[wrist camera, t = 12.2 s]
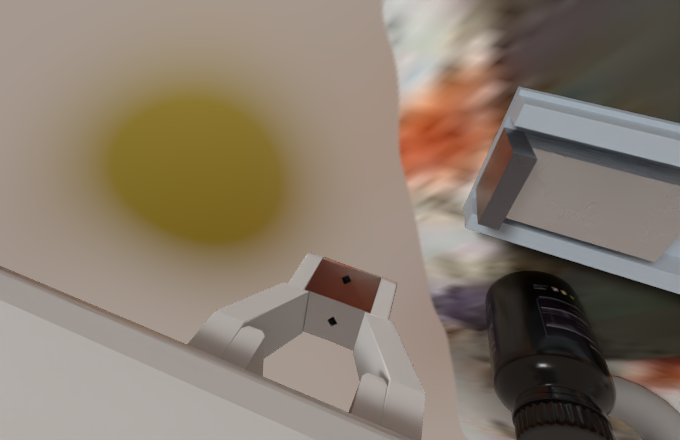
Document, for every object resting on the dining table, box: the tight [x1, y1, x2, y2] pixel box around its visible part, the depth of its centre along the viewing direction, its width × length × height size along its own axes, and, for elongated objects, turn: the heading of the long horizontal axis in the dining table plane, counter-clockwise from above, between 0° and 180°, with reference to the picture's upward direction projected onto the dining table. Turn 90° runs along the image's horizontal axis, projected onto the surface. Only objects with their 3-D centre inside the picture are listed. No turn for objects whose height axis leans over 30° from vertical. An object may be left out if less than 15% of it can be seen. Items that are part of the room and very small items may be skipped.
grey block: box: [476, 127, 680, 262], centre depth 19 cm, size 10×4×5 cm, turn 80°
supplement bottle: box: [485, 271, 616, 440], centre depth 23 cm, size 7×7×12 cm
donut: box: [608, 376, 680, 440], centre depth 26 cm, size 10×3×10 cm, turn 106°
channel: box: [464, 87, 680, 294], centre depth 19 cm, size 22×9×4 cm, turn 80°
